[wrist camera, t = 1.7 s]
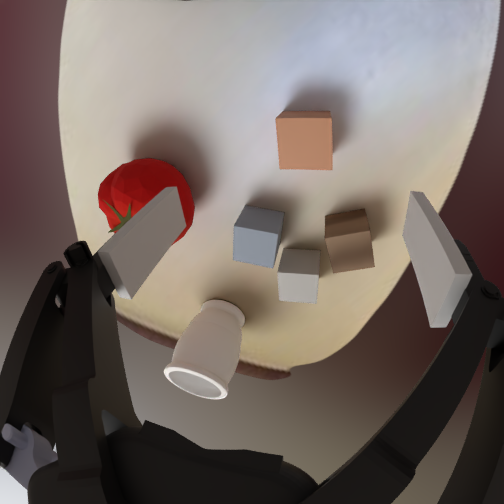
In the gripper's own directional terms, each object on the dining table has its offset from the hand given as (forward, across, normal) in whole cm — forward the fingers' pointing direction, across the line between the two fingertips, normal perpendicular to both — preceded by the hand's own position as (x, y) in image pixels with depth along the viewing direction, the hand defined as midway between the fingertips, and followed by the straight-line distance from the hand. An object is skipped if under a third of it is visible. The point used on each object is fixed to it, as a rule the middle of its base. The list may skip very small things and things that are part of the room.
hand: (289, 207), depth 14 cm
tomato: (+17, -19, -5) cm, 26 cm away
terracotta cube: (+17, 0, +1) cm, 17 cm away
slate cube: (+17, -6, -11) cm, 21 cm away
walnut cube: (+17, +5, -11) cm, 21 cm away
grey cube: (+17, -1, -17) cm, 24 cm away
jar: (+17, -15, -30) cm, 38 cm away
